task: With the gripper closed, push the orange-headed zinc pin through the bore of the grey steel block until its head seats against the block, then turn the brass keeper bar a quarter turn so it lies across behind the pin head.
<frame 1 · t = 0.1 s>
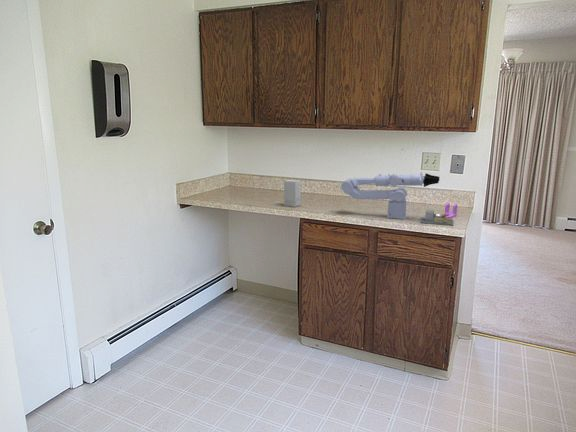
hand: (439, 179, 225), 22 cm above the worktop, tool horizontal, fingers open, 7 cm apart
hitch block: (429, 220, 230), resting on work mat
skincare box: (292, 206, 265), on the worktop
bracket: (448, 217, 240), on the worktop
lynch pin: (439, 216, 228), point 3 cm above the worktop, slide at 0.0 cm
keeper bar: (443, 219, 222), point 2 cm above the worktop, hinge at 0.0°
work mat: (437, 221, 227), on the worktop
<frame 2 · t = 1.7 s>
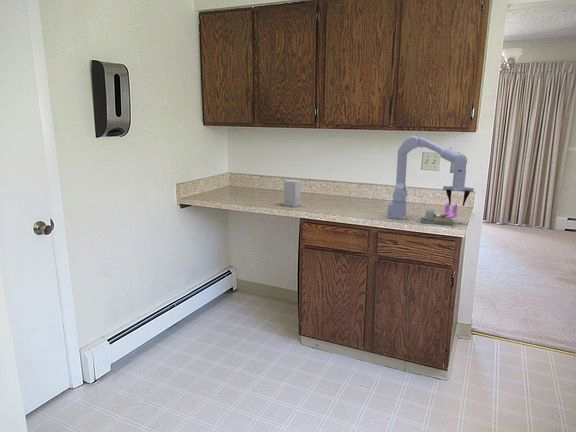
hand: (456, 205, 224), 9 cm above the worktop, tool pointing down, fingers open, 6 cm apart
nothing on the worktop moved.
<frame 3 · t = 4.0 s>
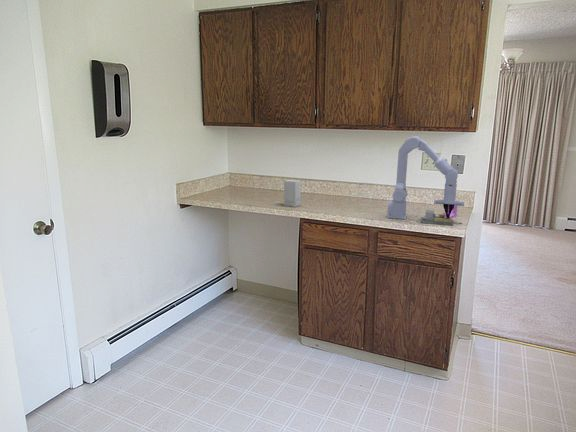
hand: (447, 218, 227), 2 cm above the worktop, tool pointing down, fingers closed
lynch pin: (438, 216, 228), point 3 cm above the worktop, slide at 0.6 cm, touching gripper
everything else where it was.
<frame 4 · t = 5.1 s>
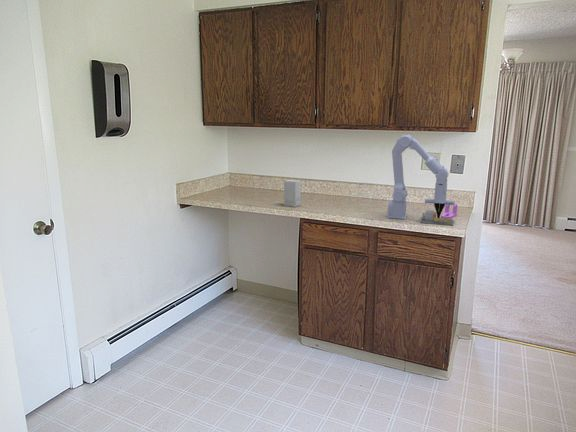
hand: (438, 217, 228), 2 cm above the worktop, tool pointing down, fingers closed
lynch pin: (429, 215, 230), point 3 cm above the worktop, slide at 5.0 cm, touching gripper, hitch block
everything else where it was.
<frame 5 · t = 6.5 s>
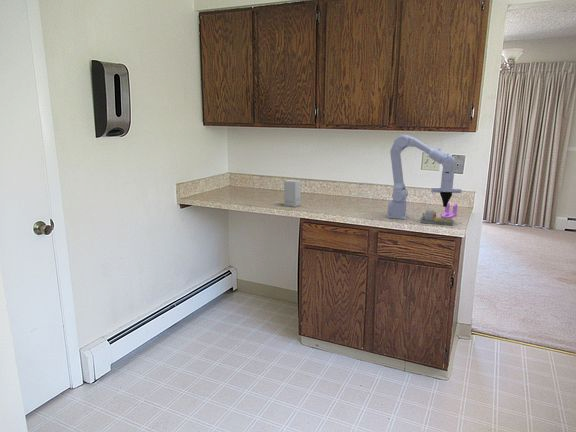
hand: (444, 206, 224), 8 cm above the worktop, tool pointing down, fingers closed
lynch pin: (429, 215, 230), point 3 cm above the worktop, slide at 5.0 cm, touching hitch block
everything else where it was.
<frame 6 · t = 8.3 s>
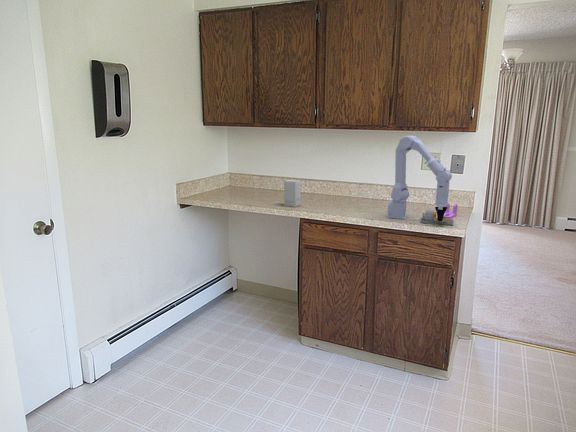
hand: (439, 221, 222), 2 cm above the worktop, tool pointing down, fingers closed, pressing on keeper bar
keeper bar: (443, 219, 222), point 2 cm above the worktop, hinge at -1.0°, touching gripper
everything else where it was.
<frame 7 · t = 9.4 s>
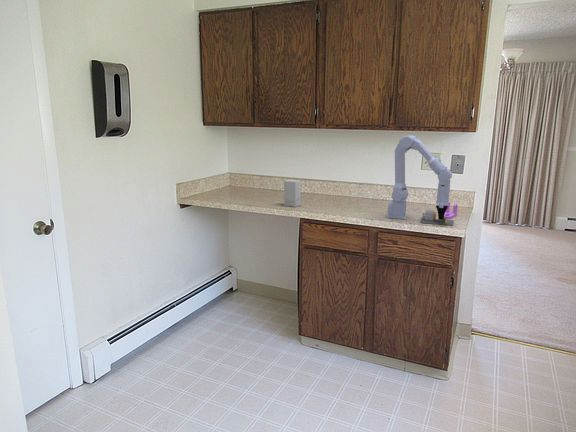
hand: (440, 219, 224), 2 cm above the worktop, tool pointing down, fingers closed, pressing on keeper bar
keeper bar: (444, 219, 222), point 2 cm above the worktop, hinge at -76.9°, touching gripper
everything else where it was.
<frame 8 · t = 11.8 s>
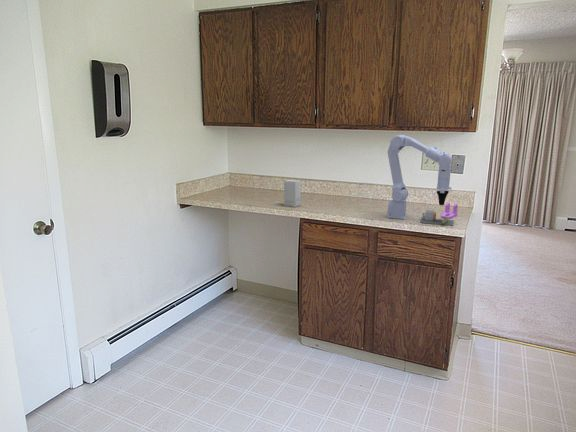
hand: (441, 204, 223), 9 cm above the worktop, tool pointing down, fingers closed
keeper bar: (445, 219, 222), point 2 cm above the worktop, hinge at -101.7°
everything else where it was.
at the end: lynch pin slide at 5.0 cm; keeper bar at -102° (first picture: +0°) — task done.
